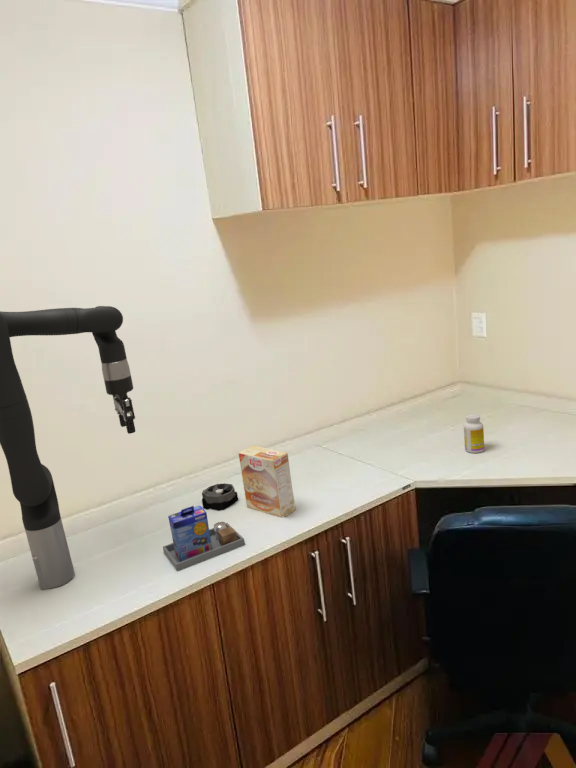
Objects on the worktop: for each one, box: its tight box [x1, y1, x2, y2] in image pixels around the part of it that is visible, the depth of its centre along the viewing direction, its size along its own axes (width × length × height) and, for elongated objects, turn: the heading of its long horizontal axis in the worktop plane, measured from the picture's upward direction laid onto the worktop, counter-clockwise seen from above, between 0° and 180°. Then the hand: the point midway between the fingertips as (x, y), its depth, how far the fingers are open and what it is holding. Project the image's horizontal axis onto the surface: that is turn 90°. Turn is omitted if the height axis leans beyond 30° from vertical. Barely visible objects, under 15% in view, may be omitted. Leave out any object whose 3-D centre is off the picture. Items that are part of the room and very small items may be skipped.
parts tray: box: [162, 522, 246, 572], centre depth 165 cm, size 20×12×2 cm, turn 119°
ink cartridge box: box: [167, 505, 212, 562], centre depth 162 cm, size 10×6×14 cm, turn 118°
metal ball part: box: [213, 521, 227, 540], centre depth 170 cm, size 4×4×4 cm
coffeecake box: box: [238, 445, 296, 518], centre depth 183 cm, size 15×7×20 cm, turn 49°
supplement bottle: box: [463, 413, 485, 454], centre depth 208 cm, size 7×7×13 cm
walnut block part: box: [217, 526, 237, 546], centre depth 166 cm, size 4×4×4 cm
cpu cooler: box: [201, 482, 239, 512], centre depth 192 cm, size 10×6×10 cm
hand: (128, 429), depth 171 cm, fingers open, 8 cm apart
